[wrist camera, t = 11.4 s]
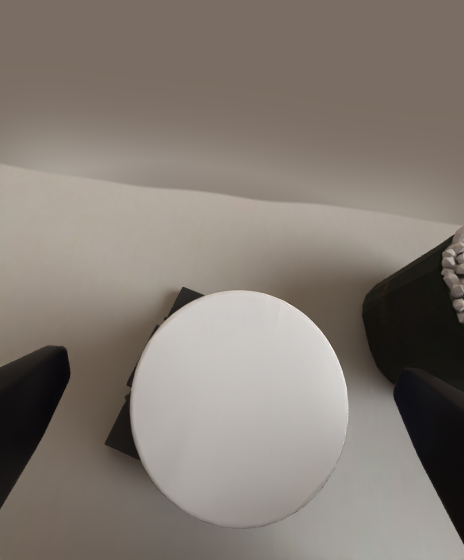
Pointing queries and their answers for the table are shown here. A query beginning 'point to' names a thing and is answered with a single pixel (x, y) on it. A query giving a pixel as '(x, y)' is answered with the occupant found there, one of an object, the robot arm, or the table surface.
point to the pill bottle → (239, 409)
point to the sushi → (421, 315)
